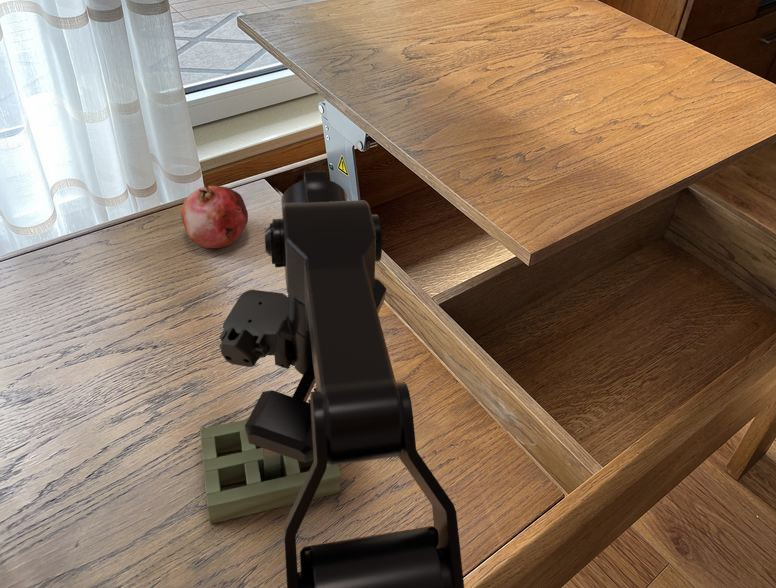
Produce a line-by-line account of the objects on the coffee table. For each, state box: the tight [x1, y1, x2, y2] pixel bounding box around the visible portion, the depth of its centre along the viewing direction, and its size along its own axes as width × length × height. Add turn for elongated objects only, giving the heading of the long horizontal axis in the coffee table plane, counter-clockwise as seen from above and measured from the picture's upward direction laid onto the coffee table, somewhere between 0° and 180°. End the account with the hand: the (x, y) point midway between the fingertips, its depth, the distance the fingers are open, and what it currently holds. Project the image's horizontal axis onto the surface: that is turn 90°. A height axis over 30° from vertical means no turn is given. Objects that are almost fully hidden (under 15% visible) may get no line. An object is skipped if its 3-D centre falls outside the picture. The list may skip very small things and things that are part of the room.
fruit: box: [180, 183, 249, 249], centre depth 102 cm, size 9×10×10 cm
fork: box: [262, 448, 282, 481], centre depth 73 cm, size 1×2×13 cm, turn 110°
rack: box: [199, 418, 342, 525], centre depth 77 cm, size 9×13×4 cm
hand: (319, 397), depth 71 cm, fingers open, 9 cm apart
